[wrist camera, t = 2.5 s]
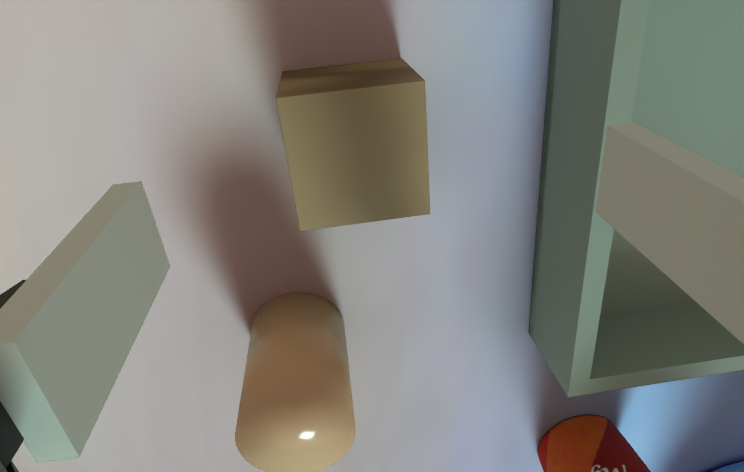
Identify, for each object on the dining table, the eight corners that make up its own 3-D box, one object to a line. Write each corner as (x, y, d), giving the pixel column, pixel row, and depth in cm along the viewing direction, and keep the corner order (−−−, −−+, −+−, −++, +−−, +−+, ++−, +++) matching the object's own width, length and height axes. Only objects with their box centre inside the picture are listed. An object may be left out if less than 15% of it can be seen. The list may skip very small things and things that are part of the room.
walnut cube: (301, 181, 23) (300, 231, 19) (282, 71, 21) (276, 98, 17) (407, 168, 24) (430, 213, 19) (400, 57, 21) (424, 80, 17)
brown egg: (261, 372, 28) (249, 483, 22) (242, 299, 26) (222, 402, 20) (349, 359, 29) (361, 465, 22) (338, 286, 26) (348, 383, 20)
